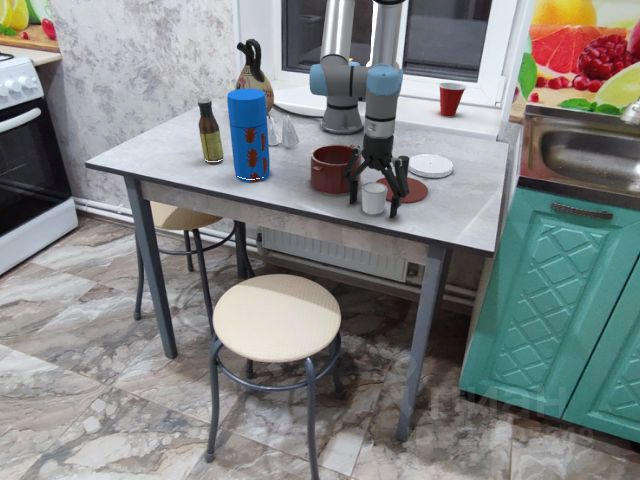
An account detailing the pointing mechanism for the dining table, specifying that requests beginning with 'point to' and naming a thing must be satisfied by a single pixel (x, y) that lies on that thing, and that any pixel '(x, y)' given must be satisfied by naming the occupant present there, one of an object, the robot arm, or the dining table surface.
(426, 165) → the plastic lid
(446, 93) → the plastic cup
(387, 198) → the lid
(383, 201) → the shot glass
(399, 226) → the dining table surface
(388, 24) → the robot arm
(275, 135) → the shaker set
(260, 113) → the thermos
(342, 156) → the pot
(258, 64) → the ceramic jug
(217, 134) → the sauce bottle
